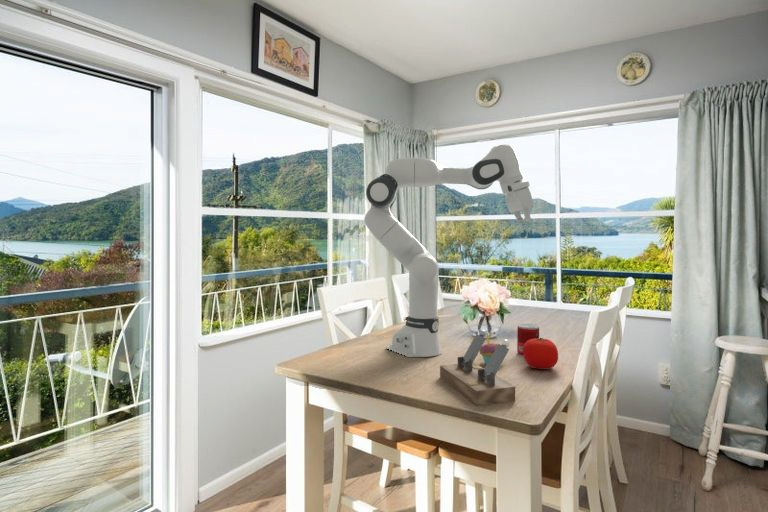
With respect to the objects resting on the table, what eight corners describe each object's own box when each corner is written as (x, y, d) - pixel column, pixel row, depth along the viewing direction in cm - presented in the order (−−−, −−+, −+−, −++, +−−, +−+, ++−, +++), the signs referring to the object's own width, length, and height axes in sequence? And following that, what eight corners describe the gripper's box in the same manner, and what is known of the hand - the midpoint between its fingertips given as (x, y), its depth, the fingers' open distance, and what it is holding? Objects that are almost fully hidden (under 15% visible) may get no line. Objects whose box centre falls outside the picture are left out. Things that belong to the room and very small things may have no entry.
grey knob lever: (465, 364, 141) (483, 330, 142) (471, 367, 137) (489, 333, 138) (460, 360, 140) (478, 327, 141) (465, 364, 137) (484, 330, 138)
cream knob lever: (486, 376, 128) (506, 340, 129) (493, 380, 125) (513, 343, 126) (481, 373, 128) (501, 336, 129) (487, 377, 124) (507, 339, 125)
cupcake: (486, 368, 152) (486, 333, 152) (474, 361, 161) (475, 328, 160) (508, 366, 155) (508, 332, 154) (496, 359, 163) (496, 327, 162)
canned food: (540, 357, 166) (540, 328, 165) (518, 356, 167) (518, 327, 167) (537, 351, 173) (537, 324, 173) (516, 350, 175) (516, 323, 174)
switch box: (473, 374, 146) (473, 352, 145) (515, 400, 123) (515, 375, 122) (440, 377, 142) (440, 355, 142) (476, 405, 119) (477, 379, 119)
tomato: (549, 362, 159) (549, 333, 158) (564, 373, 147) (564, 342, 146) (518, 362, 158) (518, 334, 158) (530, 373, 146) (531, 342, 146)
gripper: (498, 192, 175) (509, 225, 175) (512, 186, 154) (524, 223, 155) (514, 187, 175) (524, 220, 175) (530, 180, 154) (541, 218, 155)
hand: (524, 221), depth 165 cm, fingers open, 8 cm apart
